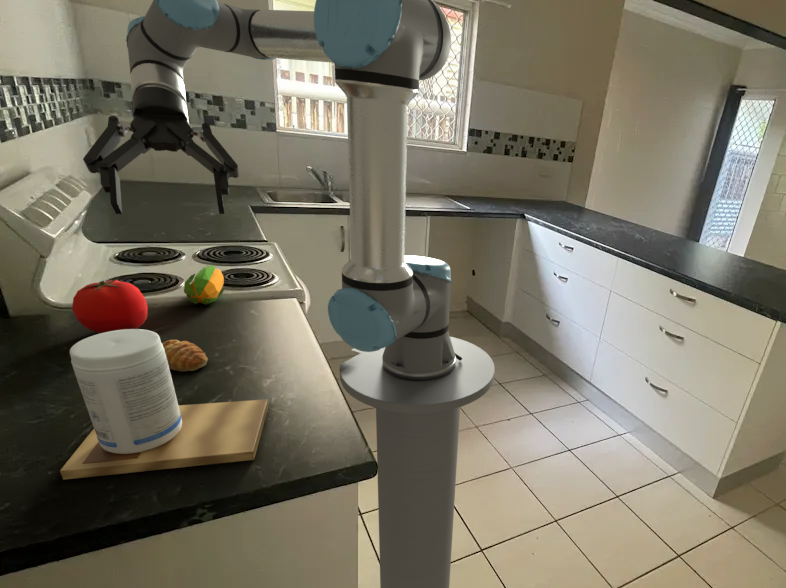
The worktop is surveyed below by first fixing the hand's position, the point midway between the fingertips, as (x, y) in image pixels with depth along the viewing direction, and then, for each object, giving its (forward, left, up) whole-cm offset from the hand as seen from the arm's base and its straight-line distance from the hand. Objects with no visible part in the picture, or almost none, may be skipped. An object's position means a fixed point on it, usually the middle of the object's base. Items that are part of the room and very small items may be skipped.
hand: (171, 209), depth 74 cm
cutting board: (-2, +20, -30) cm, 36 cm away
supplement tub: (+2, +21, -28) cm, 35 cm away
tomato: (+20, -21, -30) cm, 42 cm away
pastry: (+4, -5, -30) cm, 31 cm away
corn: (+8, -42, -30) cm, 52 cm away
